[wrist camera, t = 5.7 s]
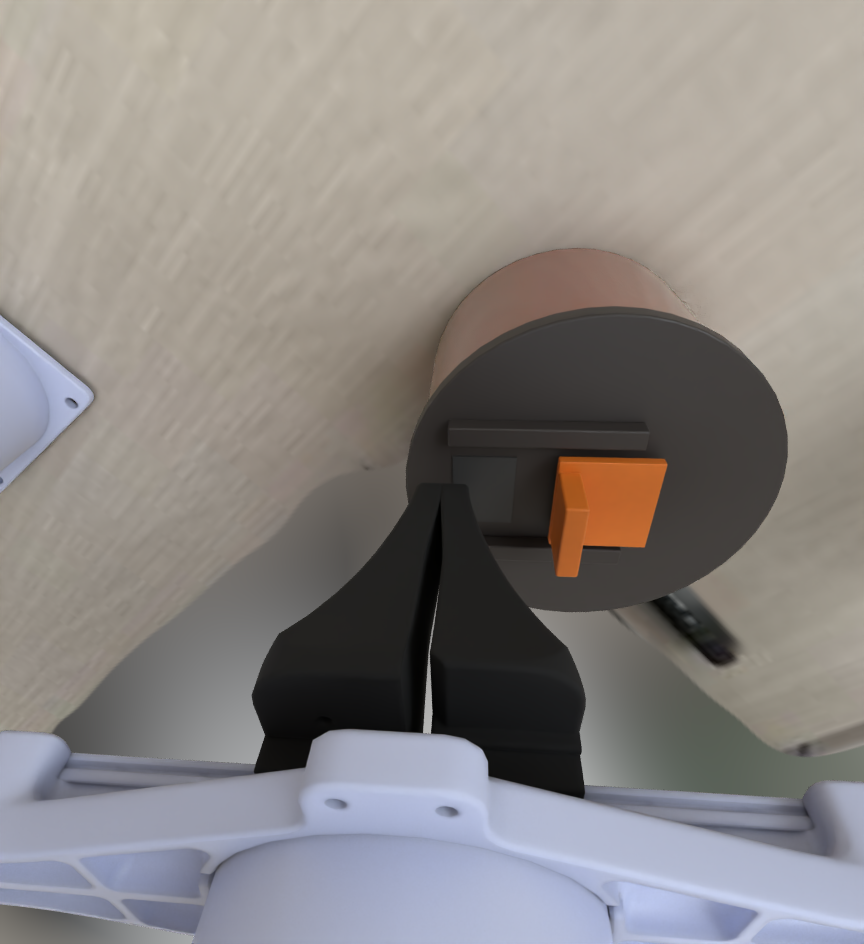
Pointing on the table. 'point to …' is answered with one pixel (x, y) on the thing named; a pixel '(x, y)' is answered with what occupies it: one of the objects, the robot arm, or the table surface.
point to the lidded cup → (597, 423)
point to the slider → (601, 505)
